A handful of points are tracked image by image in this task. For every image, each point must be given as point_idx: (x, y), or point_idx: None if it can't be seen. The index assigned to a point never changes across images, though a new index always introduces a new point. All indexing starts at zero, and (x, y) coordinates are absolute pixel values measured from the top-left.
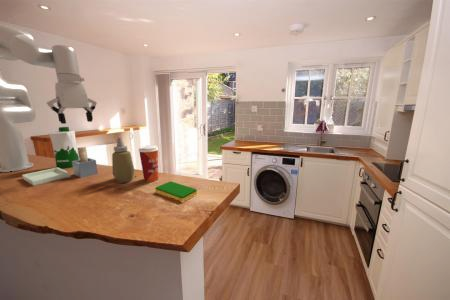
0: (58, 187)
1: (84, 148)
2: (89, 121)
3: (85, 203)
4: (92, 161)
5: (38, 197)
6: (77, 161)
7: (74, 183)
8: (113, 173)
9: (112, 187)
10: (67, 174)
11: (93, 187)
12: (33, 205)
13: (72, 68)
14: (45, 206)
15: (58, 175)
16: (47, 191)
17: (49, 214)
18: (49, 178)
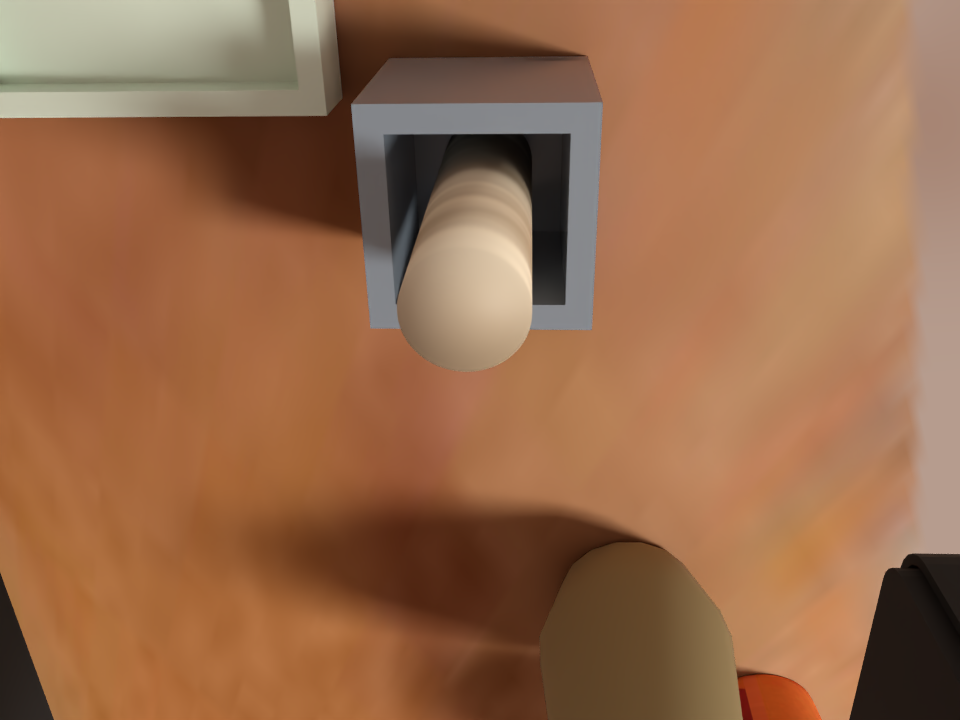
0: (188, 285)
1: (486, 364)
2: (881, 663)
3: (265, 697)
4: (545, 325)
5: (43, 386)
6: (420, 132)
7: (319, 299)
8: (541, 650)
9: (486, 625)
10: (297, 112)
11: (395, 521)
12: (19, 500)
13: None
14: (80, 569)
15: (200, 114)
16: (103, 308)
17: (94, 673)
18: (114, 115)
